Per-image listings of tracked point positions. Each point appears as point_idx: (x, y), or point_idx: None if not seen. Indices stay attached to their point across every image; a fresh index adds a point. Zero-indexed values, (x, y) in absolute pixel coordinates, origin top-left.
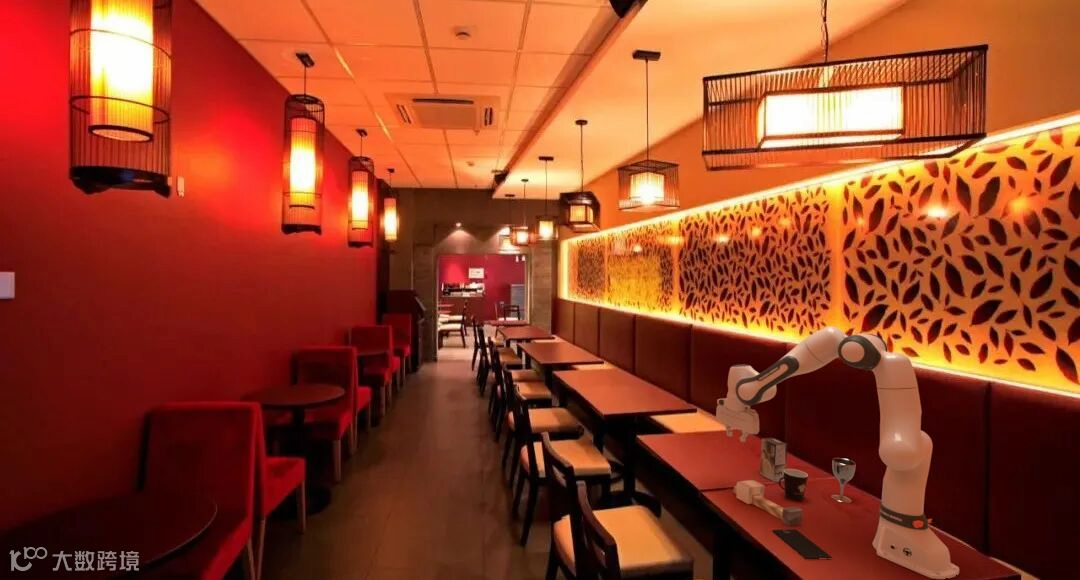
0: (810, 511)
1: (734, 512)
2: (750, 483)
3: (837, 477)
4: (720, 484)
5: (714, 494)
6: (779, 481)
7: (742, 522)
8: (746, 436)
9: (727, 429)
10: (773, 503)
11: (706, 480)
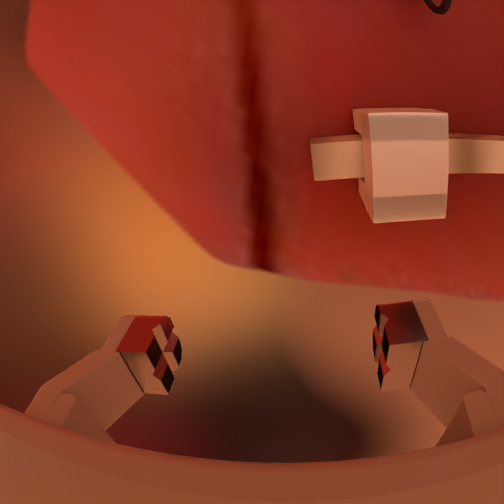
0: (501, 6)
1: (440, 274)
2: (409, 166)
3: None
4: (214, 168)
5: (305, 254)
6: (444, 11)
7: (485, 290)
8: (465, 354)
9: (123, 410)
10: (499, 146)
11: (170, 204)
